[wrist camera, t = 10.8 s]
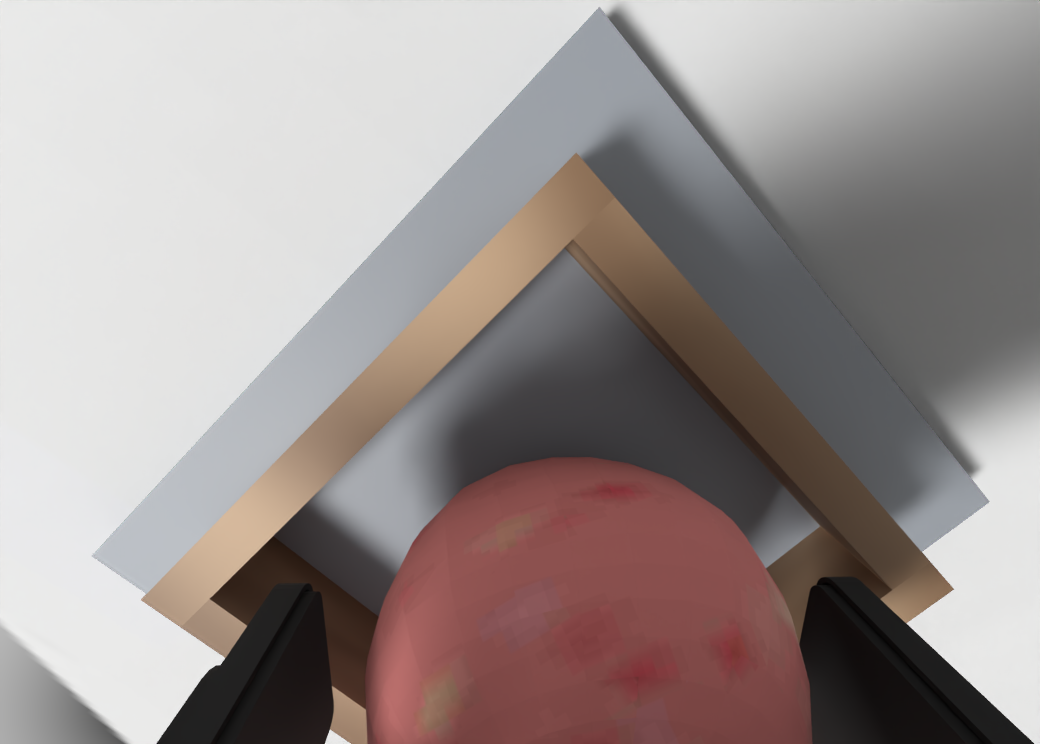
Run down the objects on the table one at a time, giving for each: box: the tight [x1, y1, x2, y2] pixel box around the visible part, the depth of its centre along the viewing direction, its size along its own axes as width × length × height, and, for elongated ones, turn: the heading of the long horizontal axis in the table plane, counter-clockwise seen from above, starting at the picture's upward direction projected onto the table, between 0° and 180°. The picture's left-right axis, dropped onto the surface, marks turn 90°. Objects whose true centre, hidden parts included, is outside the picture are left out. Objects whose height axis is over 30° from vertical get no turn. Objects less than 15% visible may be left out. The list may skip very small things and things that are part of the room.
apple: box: [365, 457, 812, 744], centre depth 9 cm, size 7×7×8 cm
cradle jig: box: [92, 7, 989, 744], centre depth 12 cm, size 18×16×4 cm
